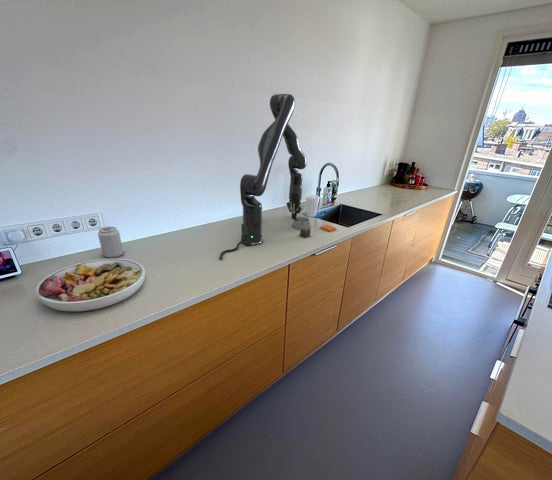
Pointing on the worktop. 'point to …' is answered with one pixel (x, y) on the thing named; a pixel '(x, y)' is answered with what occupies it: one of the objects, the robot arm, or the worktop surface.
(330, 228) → the orange cloth
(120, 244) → the can
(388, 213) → the worktop surface
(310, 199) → the foam cup
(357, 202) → the worktop surface
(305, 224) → the steel pot
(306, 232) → the walnut block
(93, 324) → the worktop surface
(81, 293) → the bowl
